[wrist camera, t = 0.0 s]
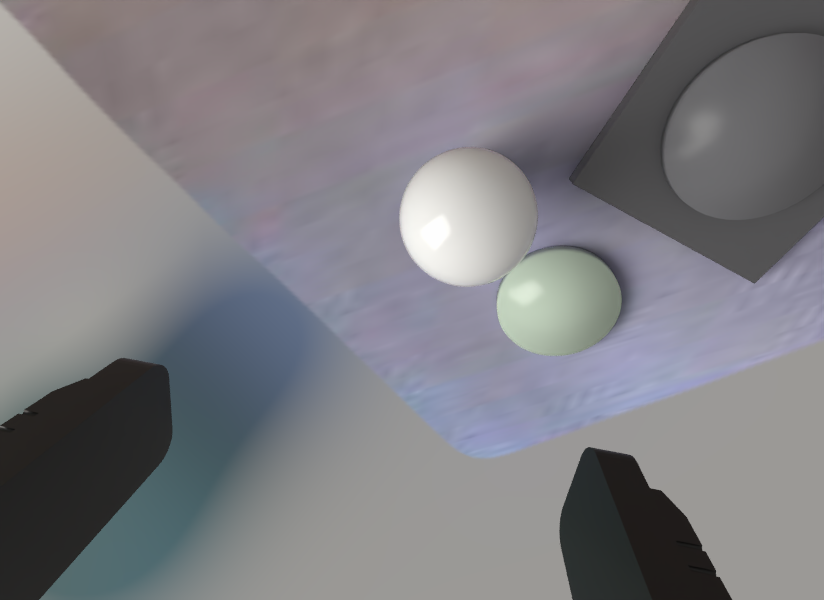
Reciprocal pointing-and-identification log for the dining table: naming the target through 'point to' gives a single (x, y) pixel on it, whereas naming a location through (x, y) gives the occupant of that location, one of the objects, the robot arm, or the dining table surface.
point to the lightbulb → (468, 216)
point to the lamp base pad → (723, 133)
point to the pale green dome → (558, 301)
